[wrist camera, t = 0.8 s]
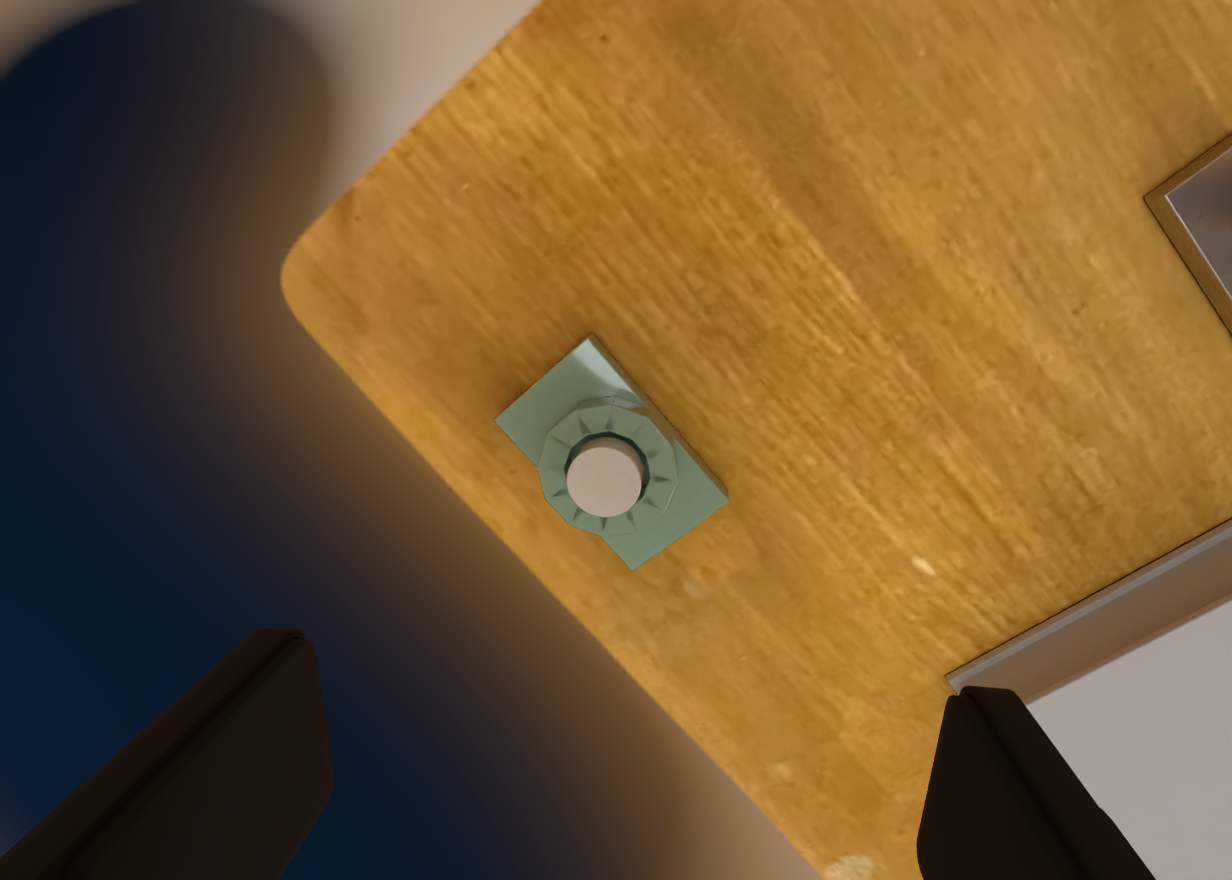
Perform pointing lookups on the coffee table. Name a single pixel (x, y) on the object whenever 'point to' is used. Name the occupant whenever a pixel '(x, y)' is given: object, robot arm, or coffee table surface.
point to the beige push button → (605, 477)
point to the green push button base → (614, 407)
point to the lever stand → (1202, 222)
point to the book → (1141, 703)
